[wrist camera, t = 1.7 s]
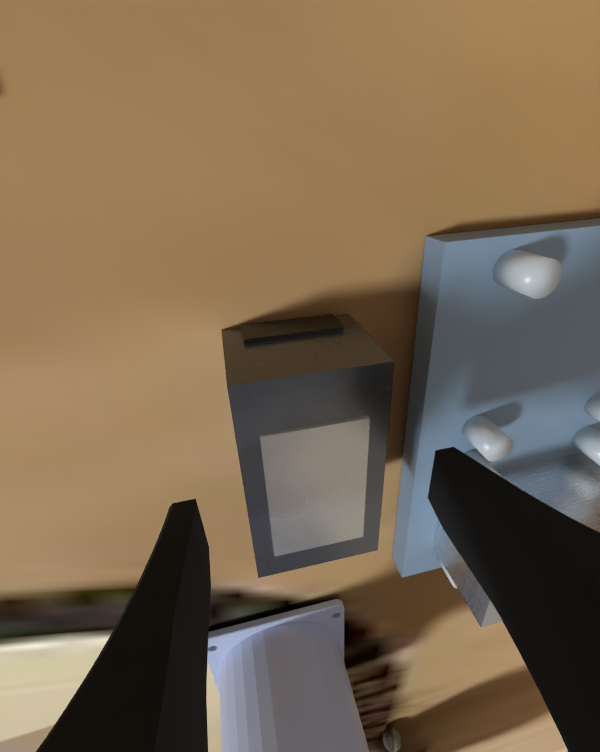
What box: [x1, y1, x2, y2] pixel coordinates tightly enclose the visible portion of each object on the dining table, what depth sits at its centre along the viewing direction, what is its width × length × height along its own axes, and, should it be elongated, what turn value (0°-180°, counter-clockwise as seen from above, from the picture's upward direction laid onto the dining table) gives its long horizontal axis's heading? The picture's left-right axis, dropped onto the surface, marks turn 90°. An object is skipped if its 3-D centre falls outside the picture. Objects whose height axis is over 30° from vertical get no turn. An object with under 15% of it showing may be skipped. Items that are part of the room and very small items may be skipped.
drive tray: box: [392, 218, 600, 589], centre depth 17 cm, size 17×11×3 cm, turn 3°
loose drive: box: [222, 314, 394, 578], centre depth 14 cm, size 4×8×4 cm, turn 2°
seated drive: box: [432, 452, 600, 627], centre depth 17 cm, size 4×8×4 cm, turn 93°
